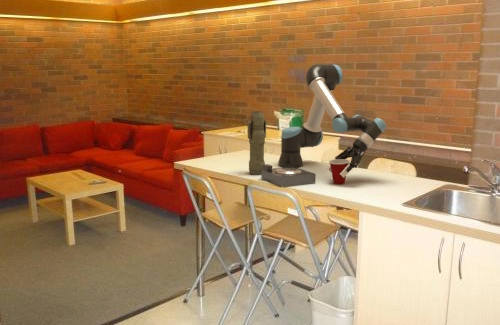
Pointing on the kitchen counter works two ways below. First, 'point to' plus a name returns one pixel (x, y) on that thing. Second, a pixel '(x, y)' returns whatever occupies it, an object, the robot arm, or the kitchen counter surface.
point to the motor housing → (287, 176)
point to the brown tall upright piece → (256, 142)
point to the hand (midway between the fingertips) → (335, 173)
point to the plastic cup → (338, 169)
